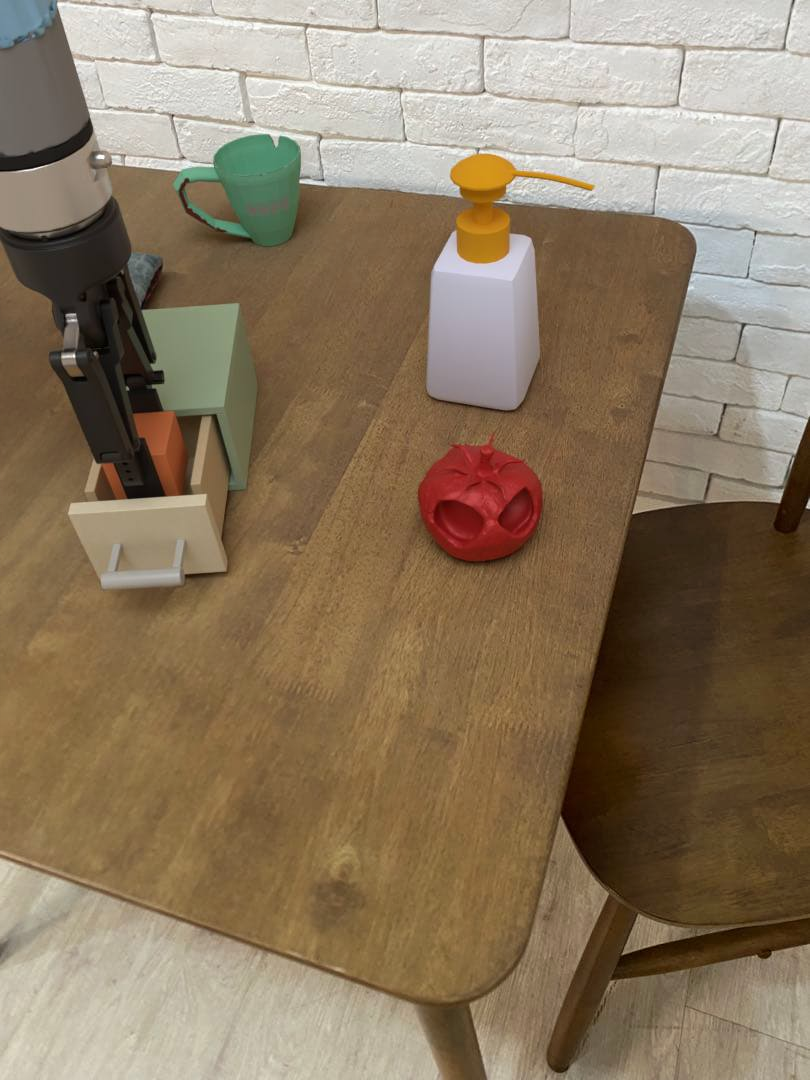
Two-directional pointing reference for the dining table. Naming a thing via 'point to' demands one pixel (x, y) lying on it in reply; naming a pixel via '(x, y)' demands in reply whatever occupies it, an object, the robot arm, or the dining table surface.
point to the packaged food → (144, 274)
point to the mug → (251, 187)
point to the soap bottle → (485, 295)
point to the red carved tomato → (480, 502)
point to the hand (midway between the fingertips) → (154, 478)
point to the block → (158, 452)
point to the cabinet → (208, 373)
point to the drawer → (160, 519)
